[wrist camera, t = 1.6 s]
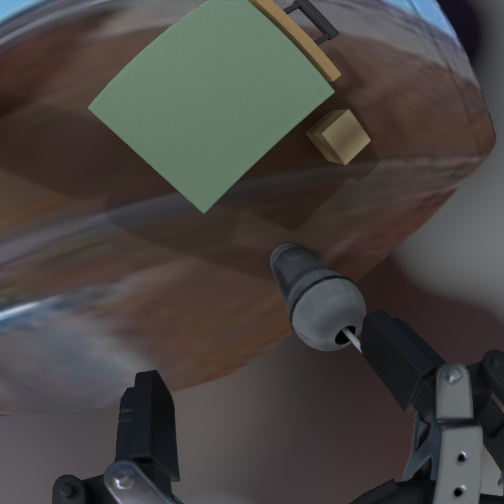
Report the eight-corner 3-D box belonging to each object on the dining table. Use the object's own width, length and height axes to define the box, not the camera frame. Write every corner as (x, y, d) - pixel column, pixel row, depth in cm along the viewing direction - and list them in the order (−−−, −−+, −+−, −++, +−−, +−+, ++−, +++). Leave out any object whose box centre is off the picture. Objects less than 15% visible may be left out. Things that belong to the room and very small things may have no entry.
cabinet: (217, 26, 23) (230, -14, 14) (294, 102, 28) (335, 91, 19) (117, 116, 24) (87, 107, 16) (199, 191, 30) (204, 214, 21)
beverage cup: (274, 223, 33) (370, 325, 15) (322, 243, 36) (426, 338, 18) (249, 275, 35) (309, 405, 17) (297, 290, 38) (374, 403, 20)
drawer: (268, -4, 21) (292, -35, 14) (334, 64, 26) (373, 51, 19) (141, 95, 24) (125, 80, 17) (217, 166, 28) (227, 176, 21)
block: (304, 133, 30) (321, 133, 26) (329, 110, 29) (348, 108, 25) (327, 161, 32) (345, 165, 28) (350, 138, 31) (371, 140, 27)
